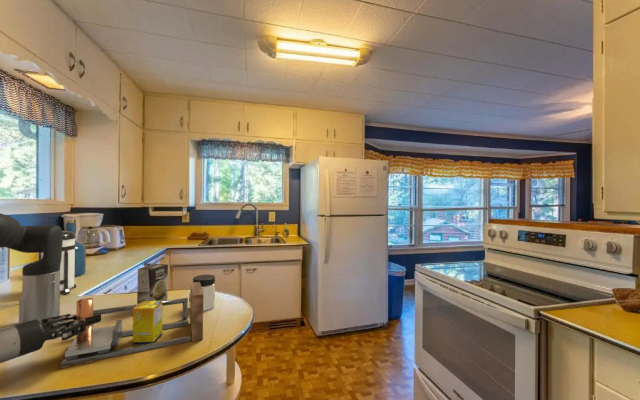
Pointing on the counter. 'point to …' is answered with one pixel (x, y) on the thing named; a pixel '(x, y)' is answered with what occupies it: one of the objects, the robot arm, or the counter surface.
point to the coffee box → (152, 283)
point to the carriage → (93, 334)
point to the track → (96, 356)
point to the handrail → (128, 308)
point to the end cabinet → (196, 311)
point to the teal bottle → (77, 251)
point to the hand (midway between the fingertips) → (96, 315)
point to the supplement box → (147, 322)
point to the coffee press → (66, 262)
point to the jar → (207, 290)
